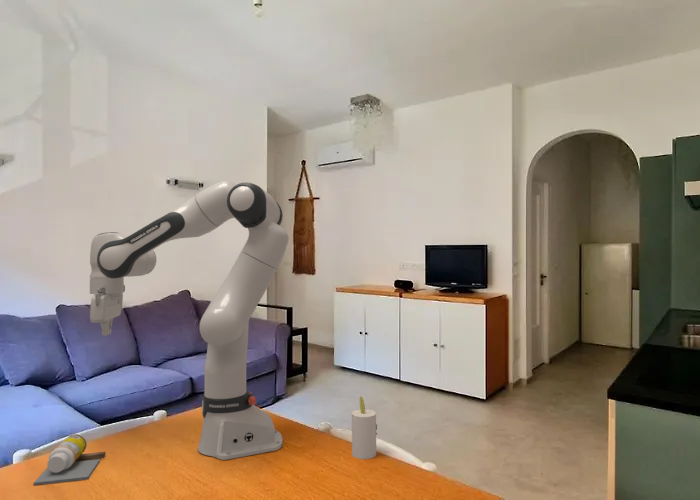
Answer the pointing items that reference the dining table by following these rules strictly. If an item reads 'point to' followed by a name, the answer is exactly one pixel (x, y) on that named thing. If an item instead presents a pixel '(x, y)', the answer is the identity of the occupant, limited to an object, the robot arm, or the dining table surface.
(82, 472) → the felt tile
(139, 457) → the dining table surface
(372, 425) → the candle
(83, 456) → the strip
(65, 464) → the supplement bottle
